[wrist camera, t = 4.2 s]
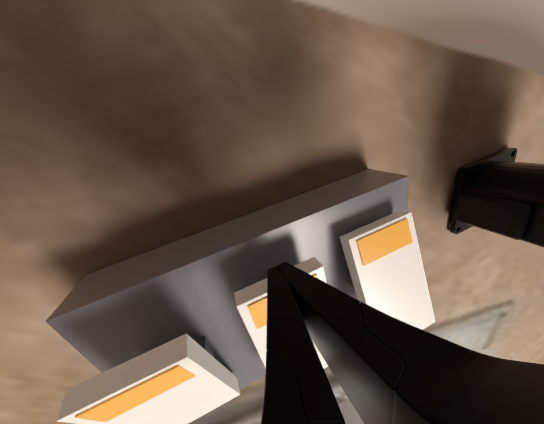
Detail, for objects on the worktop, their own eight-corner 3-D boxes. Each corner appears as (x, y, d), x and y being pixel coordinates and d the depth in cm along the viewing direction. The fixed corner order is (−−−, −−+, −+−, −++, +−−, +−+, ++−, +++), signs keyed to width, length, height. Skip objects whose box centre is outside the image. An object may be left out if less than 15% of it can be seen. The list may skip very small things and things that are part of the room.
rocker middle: (314, 256, 9) (324, 267, 9) (332, 346, 12) (341, 360, 11) (233, 292, 9) (236, 307, 8) (273, 379, 11) (278, 396, 11)
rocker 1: (186, 333, 7) (187, 359, 7) (237, 377, 12) (240, 396, 11) (67, 389, 7) (55, 424, 6) (168, 414, 11) (168, 436, 10)
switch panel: (368, 168, 14) (424, 179, 10) (373, 275, 18) (414, 308, 14) (86, 274, 10) (27, 342, 7) (172, 376, 14) (163, 451, 11)
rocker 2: (398, 210, 11) (412, 212, 11) (422, 313, 13) (436, 322, 12) (339, 236, 11) (349, 240, 10) (370, 343, 12) (381, 355, 11)
